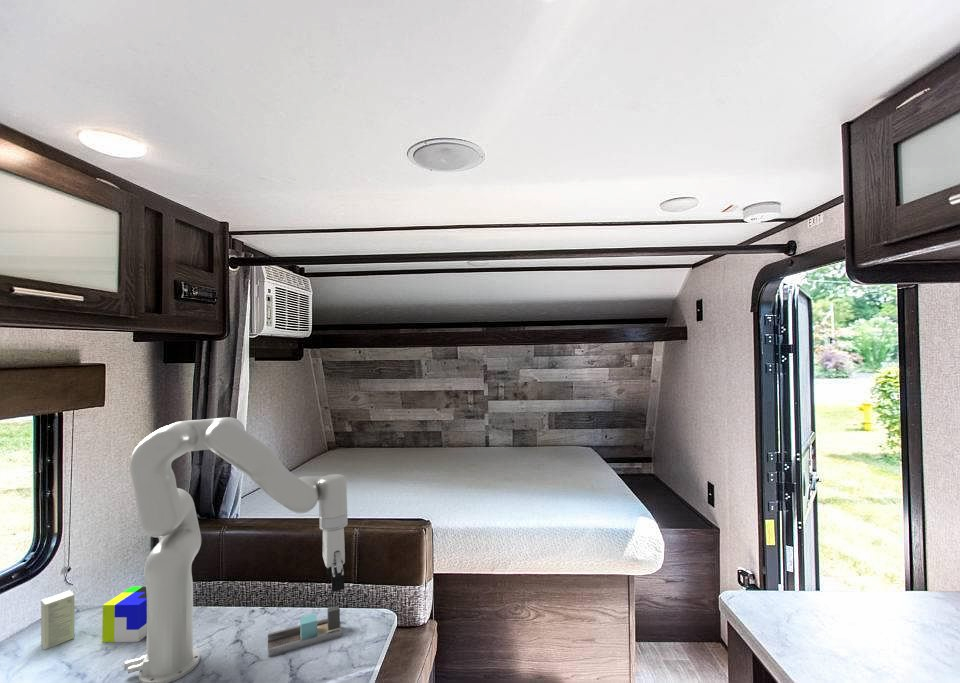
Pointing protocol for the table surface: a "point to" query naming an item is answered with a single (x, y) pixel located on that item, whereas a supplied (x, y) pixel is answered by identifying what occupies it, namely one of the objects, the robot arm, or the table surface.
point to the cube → (308, 626)
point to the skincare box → (57, 619)
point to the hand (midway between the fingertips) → (335, 582)
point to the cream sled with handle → (330, 621)
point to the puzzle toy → (126, 616)
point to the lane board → (299, 643)
